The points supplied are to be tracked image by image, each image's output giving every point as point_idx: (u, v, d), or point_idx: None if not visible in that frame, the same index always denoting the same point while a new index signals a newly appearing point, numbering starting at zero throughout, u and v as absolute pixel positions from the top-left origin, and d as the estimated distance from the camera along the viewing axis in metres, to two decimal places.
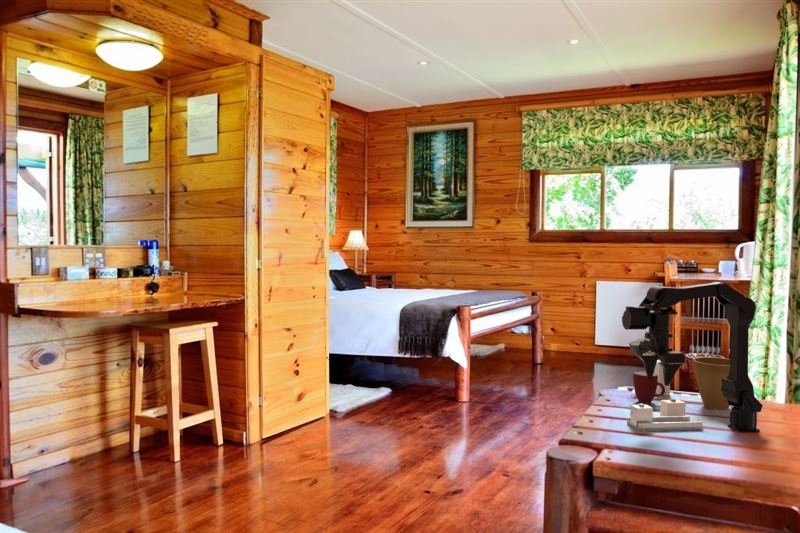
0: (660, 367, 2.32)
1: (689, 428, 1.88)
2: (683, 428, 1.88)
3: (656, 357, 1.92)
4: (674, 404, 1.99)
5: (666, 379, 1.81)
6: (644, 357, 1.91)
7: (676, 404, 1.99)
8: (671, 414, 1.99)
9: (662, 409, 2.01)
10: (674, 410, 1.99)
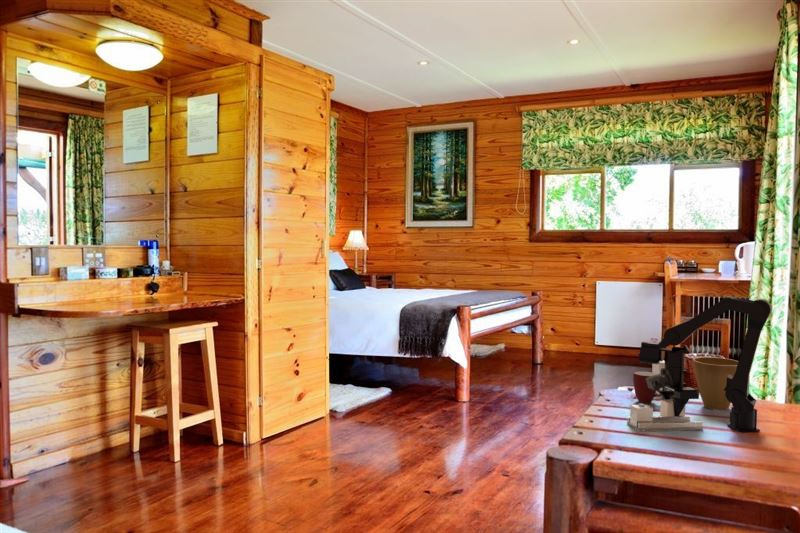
0: (660, 367, 2.32)
1: (689, 428, 1.88)
2: (683, 428, 1.88)
3: None
4: None
5: (676, 411, 1.98)
6: (664, 392, 2.03)
7: None
8: (671, 414, 1.99)
9: (662, 409, 2.01)
10: None
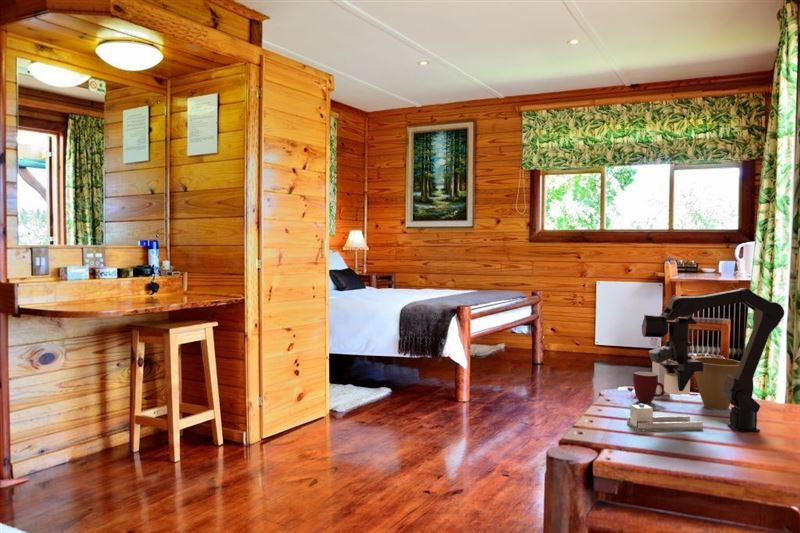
0: (660, 367, 2.32)
1: (689, 428, 1.88)
2: (683, 428, 1.88)
3: None
4: None
5: (680, 385, 1.89)
6: (668, 366, 1.95)
7: None
8: (675, 388, 1.90)
9: (666, 383, 1.93)
10: None
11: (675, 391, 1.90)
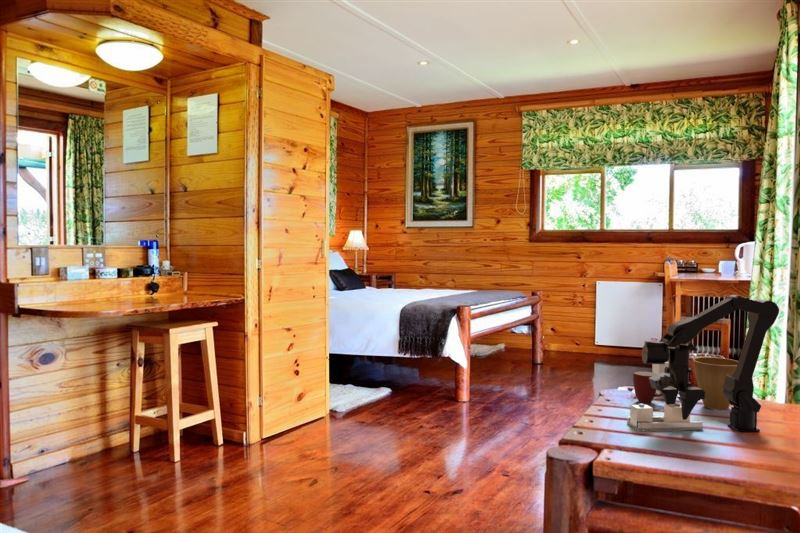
0: (660, 367, 2.32)
1: (689, 428, 1.88)
2: (683, 428, 1.88)
3: (676, 391, 1.96)
4: (678, 409, 1.89)
5: (684, 413, 1.87)
6: (665, 391, 1.95)
7: (681, 409, 1.89)
8: (675, 419, 1.89)
9: (666, 414, 1.92)
10: (679, 415, 1.89)
11: None
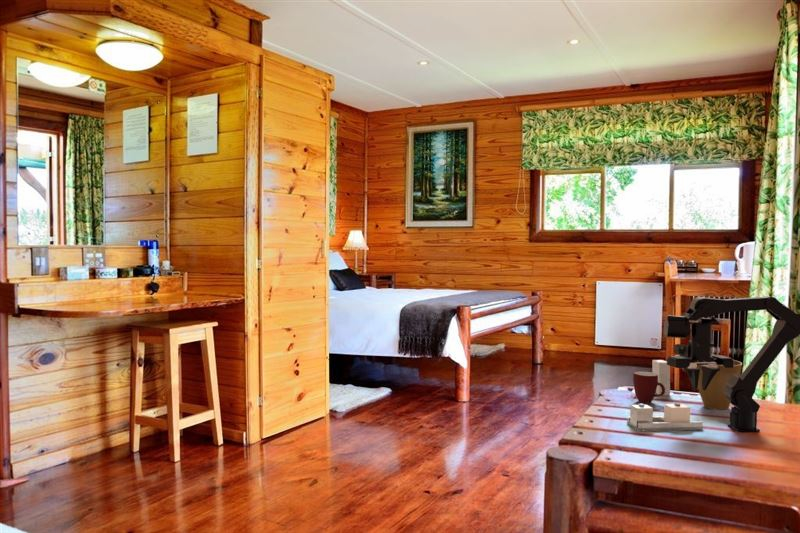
0: (660, 367, 2.32)
1: (689, 428, 1.88)
2: (683, 428, 1.88)
3: (710, 370, 1.90)
4: (678, 409, 1.89)
5: (691, 383, 1.92)
6: (702, 367, 1.94)
7: (681, 409, 1.89)
8: (675, 419, 1.89)
9: (666, 414, 1.92)
10: (679, 415, 1.89)
11: None
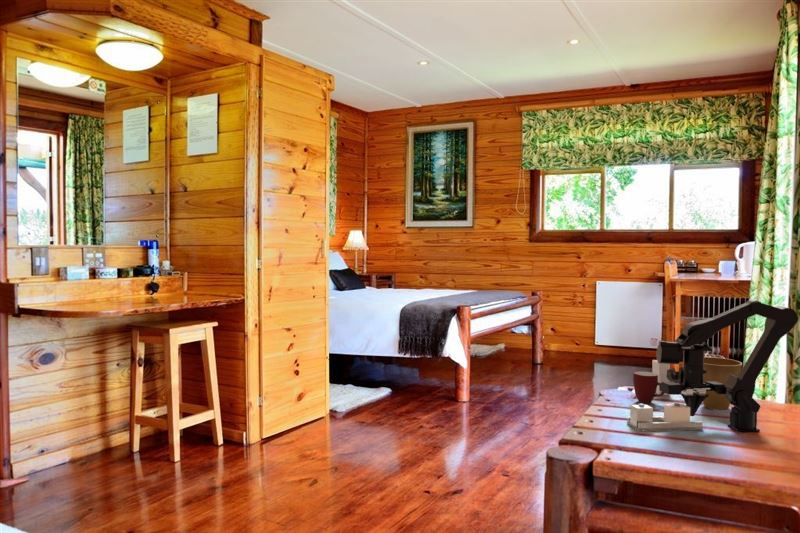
0: (660, 367, 2.32)
1: (689, 428, 1.88)
2: (683, 428, 1.88)
3: (698, 396, 1.89)
4: (678, 409, 1.89)
5: None
6: None
7: (680, 409, 1.89)
8: (675, 419, 1.89)
9: (666, 414, 1.92)
10: (679, 415, 1.89)
11: None
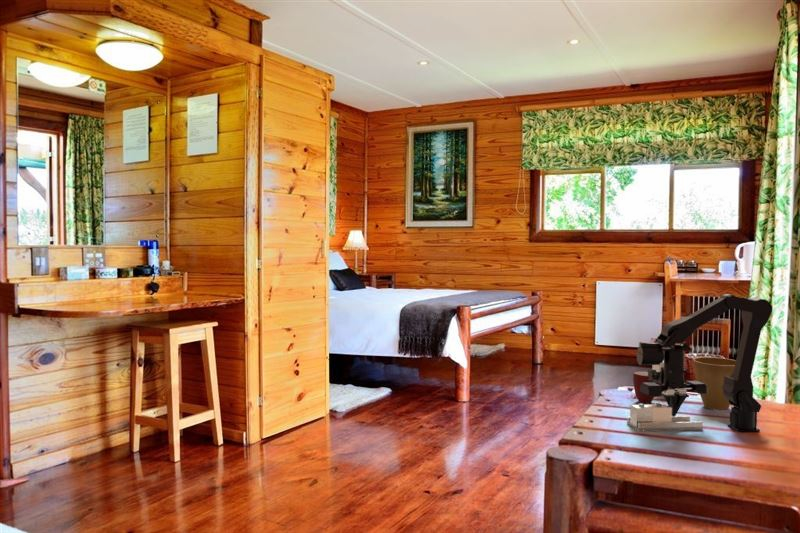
0: (660, 367, 2.32)
1: (689, 428, 1.88)
2: (683, 428, 1.88)
3: (679, 397, 1.89)
4: (660, 409, 1.88)
5: None
6: None
7: (662, 409, 1.88)
8: (656, 420, 1.88)
9: None
10: (660, 416, 1.88)
11: None
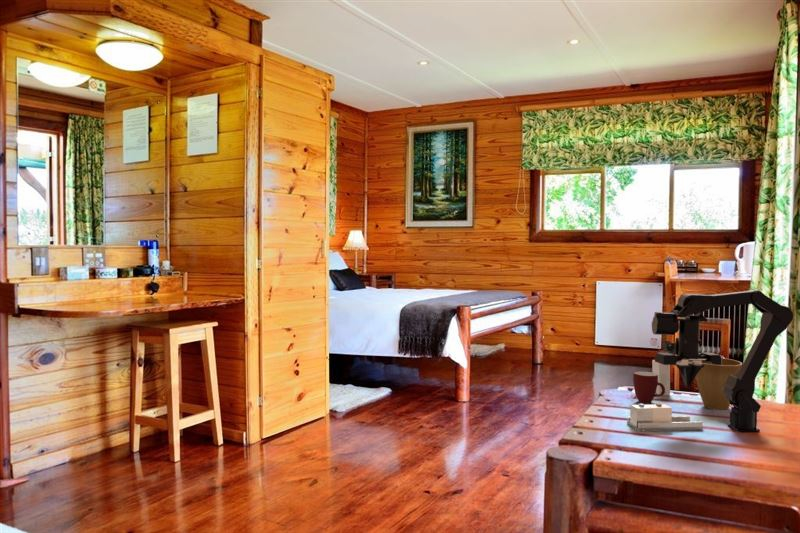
0: (660, 367, 2.32)
1: (689, 428, 1.88)
2: (683, 428, 1.88)
3: (694, 367, 1.89)
4: (660, 409, 1.88)
5: (683, 380, 1.92)
6: None
7: (662, 409, 1.88)
8: (656, 420, 1.88)
9: None
10: (660, 416, 1.88)
11: None
